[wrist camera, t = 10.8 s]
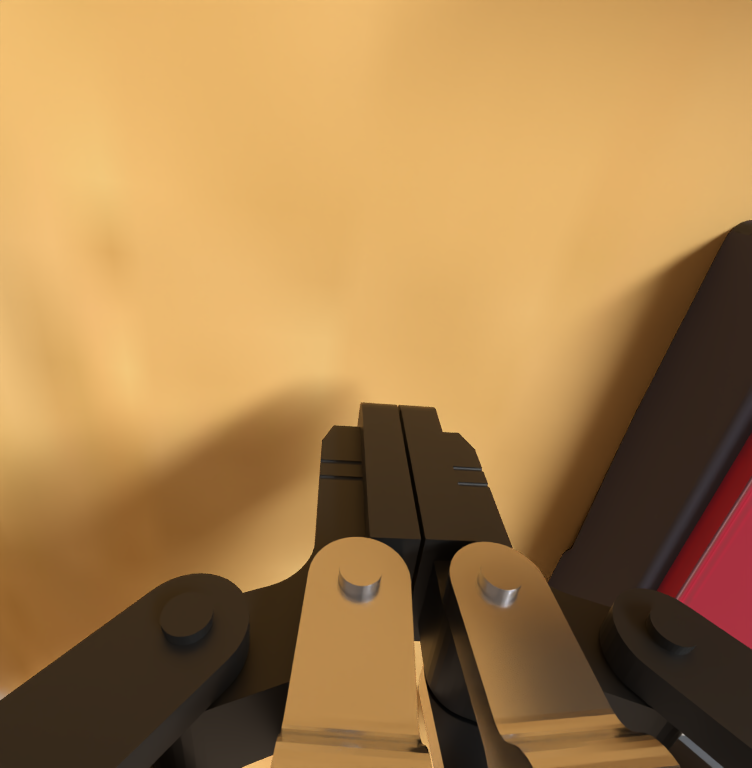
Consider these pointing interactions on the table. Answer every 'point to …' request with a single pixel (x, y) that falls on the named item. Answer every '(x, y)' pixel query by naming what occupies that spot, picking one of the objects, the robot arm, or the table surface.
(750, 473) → the calculator
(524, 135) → the table surface
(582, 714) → the robot arm
